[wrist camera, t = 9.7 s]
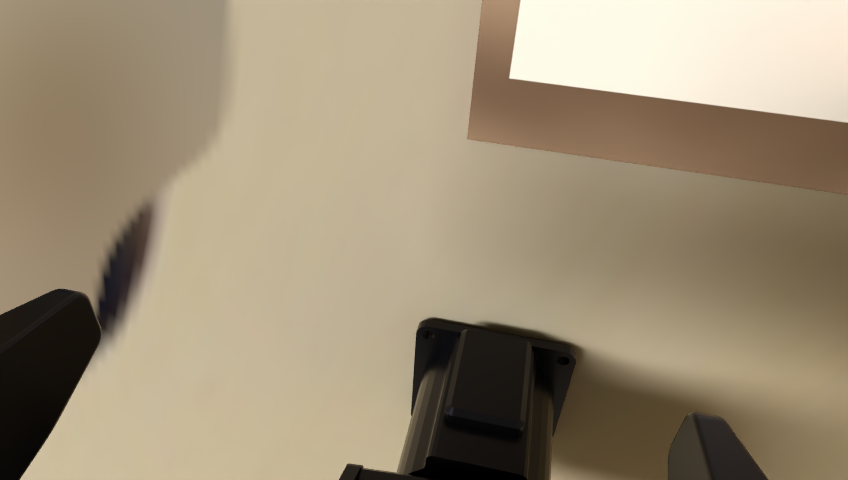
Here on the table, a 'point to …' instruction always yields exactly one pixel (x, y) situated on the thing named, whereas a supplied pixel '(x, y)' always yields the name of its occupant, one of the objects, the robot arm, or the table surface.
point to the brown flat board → (645, 123)
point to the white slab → (693, 51)
